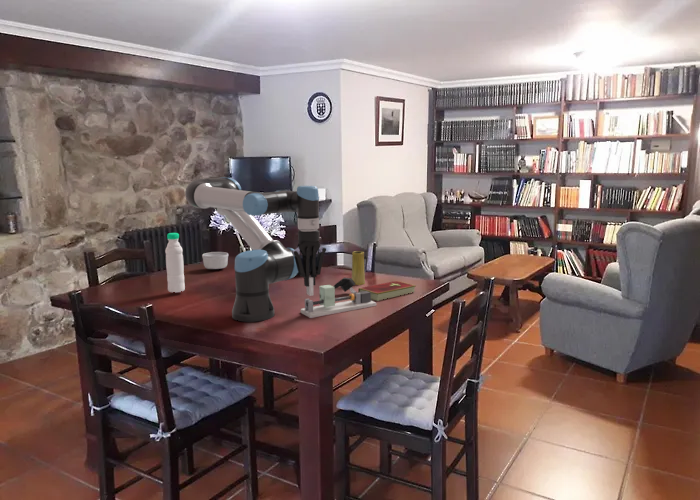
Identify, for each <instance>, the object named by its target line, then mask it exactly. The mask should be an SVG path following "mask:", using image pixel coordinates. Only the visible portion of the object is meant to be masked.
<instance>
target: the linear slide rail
mask: <svg viewBox="0 0 700 500" xmlns="http://www.w3.org/2000/svg"><path fill="white" fill-rule="evenodd" d="M323 303H324V300H321V301H320V300H316V301H314V300H311V299H310V298H304V307H303V308H300V313H301V314H302V315H304V316H305V317H308V318H309V319H313V318H318V317H323V316H328V315H329V316H330V315H335V314H339V313H344V312H350V311H355V310H360V309H366V308H371V307H377V302H375V301H374V300H372V299H371V292H368V291H362V292H357V291H356V290H355V292H352V293H349V295H347V296H341V297H335V306H330V307H324V305H320V304H323ZM315 305H316V306H315Z"/></svg>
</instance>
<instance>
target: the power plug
mask: <svg viewBox="0 0 700 500" xmlns="http://www.w3.org/2000/svg"><path fill="white" fill-rule="evenodd" d="M332 286H333V287H335V290H336V289H338V288H339V287H340V288H341V289H342V290H343V291H344V292H347V291H349V292H351V293H350V294H352V292H355V291H356V290H355V289H354V288H353V286H356V285H355V282H354V281H353V280H352V277H351V278H350V277H343V278H342V279H340V280H339V281H338V282H336V283H335V284H333V285H332Z"/></svg>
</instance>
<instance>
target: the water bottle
mask: <svg viewBox="0 0 700 500" xmlns="http://www.w3.org/2000/svg"><path fill="white" fill-rule="evenodd" d="M166 238H167V241H168V243H167V245H166V248H165V250H164V252H165V265H166V266H165V267H166V274H167V275H166V280H167V291H168V292H170V293H173V292H175V293H181V291H182V292H184V291H185V290H186V289H185V288H186V286H185V285H186V284H185V275H184V274H185V272H184V271H185V270H184V267H185V266H184V255H183V247H182V246H181V243H180V242H179V238H180V234H179V233H178V232H169V233H167V237H166Z"/></svg>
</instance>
